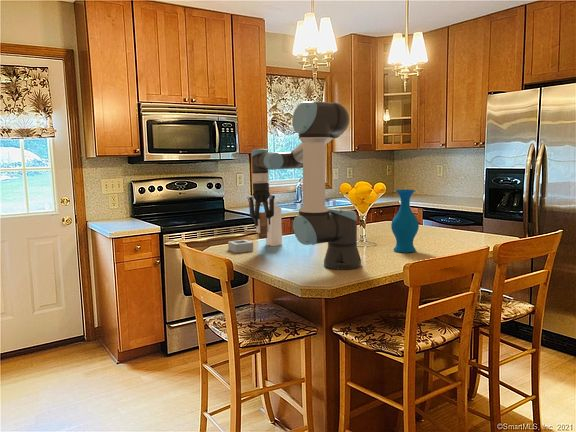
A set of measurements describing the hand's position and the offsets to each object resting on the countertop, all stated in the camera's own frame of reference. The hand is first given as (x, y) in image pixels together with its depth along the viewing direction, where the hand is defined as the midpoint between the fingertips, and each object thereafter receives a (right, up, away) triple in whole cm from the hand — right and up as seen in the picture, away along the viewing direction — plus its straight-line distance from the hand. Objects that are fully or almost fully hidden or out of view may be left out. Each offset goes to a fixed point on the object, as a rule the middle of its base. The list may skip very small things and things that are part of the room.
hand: (262, 232), depth 221 cm
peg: (0, -3, 0) cm, 3 cm away
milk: (+5, -7, +17) cm, 19 cm away
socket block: (-11, -9, +5) cm, 15 cm away
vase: (+66, -9, -4) cm, 66 cm away
